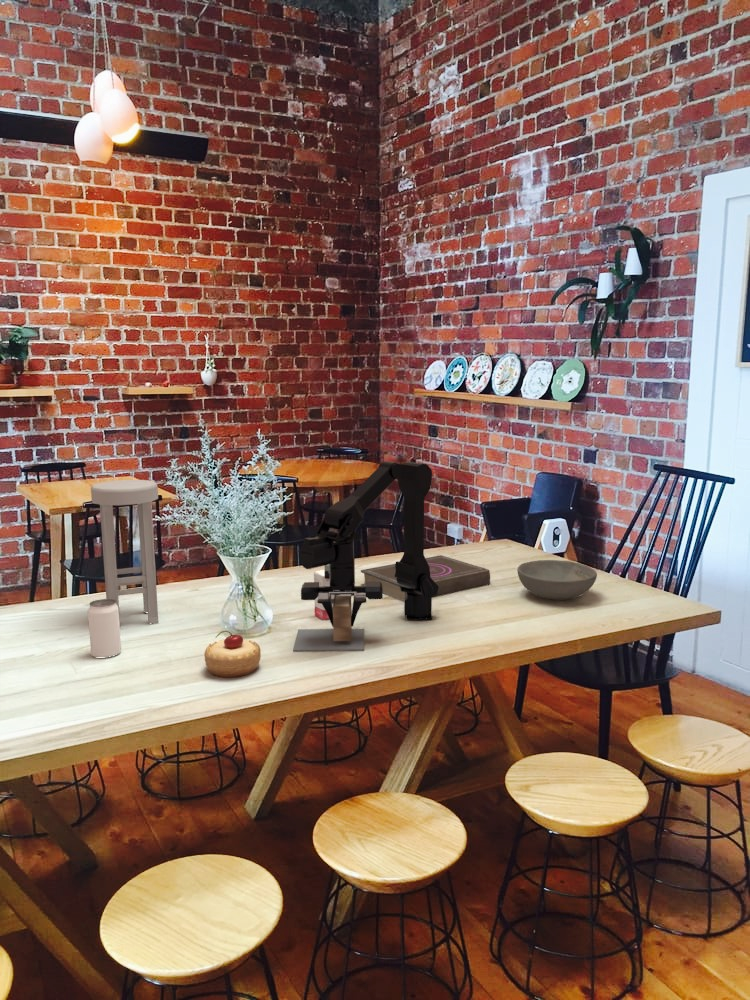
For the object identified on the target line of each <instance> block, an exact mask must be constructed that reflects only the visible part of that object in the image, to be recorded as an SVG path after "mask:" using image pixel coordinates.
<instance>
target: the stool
mask: <svg viewBox="0 0 750 1000" xmlns="http://www.w3.org/2000/svg"><path fill="white" fill-rule="evenodd" d="M158 490H159V489H158V484H157V483H156V482H155V481H154V480H148V479H147V480H146V479H122V480H117V479H116V480H110V481H103V482H98V483H95V484H91V486H90V494H91V496H90V498H91V502H92V504H95V505H99V509H100V524H101V538H102V539H101V540H102V554H103V555H102V556H103V567H104V568H103V569H104V570H103V571H104V583H105V584H104V585H105V599H114V600H116V604H117V606H118V610H119V611H120V600H119V597H120V596H127V595H136V594H137V595H138V594H142V597H143V598H142V599H143V601H142V602H143V612H144V611H145V612H148V614H147V619H148V621H149V622H148V621H147V622H148V624H149V623H158V624H159V609H158V592H157V591H158V589H157V576H156V575H157V574H156V573H157V572H156V571H157V570H156V557H155V539H154V536H155V535H154V520H153V502H154V501H156V500H158V499H159V491H158ZM127 505H128V506H129V505H130V506H131V505H137V515H138V531H139V532H138V534H139V550H140V566H136V567H135V566H134V567H125V568H117V567H118V566H117V556H116V555H117V553H116V541H115V540H116V538H115V524H114V510H113V509H114V507H113V506H127ZM134 573H135V574H136V573H141V575H134V576H123V577H118V575H125V574H134ZM132 585H142V587H136V588H135V587H134V588H124V589H119V587H121V586H122V587H123V586H124V587H125V586H132ZM119 623H120V624H121V617H120V613H119Z"/></svg>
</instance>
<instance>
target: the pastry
mask: <svg viewBox="0 0 750 1000" xmlns="http://www.w3.org/2000/svg"><path fill="white" fill-rule="evenodd" d="M223 633H229V634H230V635H229V636H226V637H225V639H220V640H219V641H214V642H213V643H210V644H209V645H208V646H207V647H206V648H205V650H204V662H205V666H206V669H208V671H209V672H210V673H211V674H212V675H213V676H216V677H221V678H237V677H238V678H239V677H242V676H247V675H249V674H251V673H253V672H255V671H256V668H257V667H258V666H259V663H260V661H261V657H262V656H261V646H260V644H258V642H256V641H252V640H247V639H244V638H243V636H242V635H240V634H237V633H236V634H232V633H231V632H230V631H229V630H222V631H220V632H219V633H217V635H216V636H215V639H216V638H218V636H220V635H221V634H223Z"/></svg>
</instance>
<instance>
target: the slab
mask: <svg viewBox="0 0 750 1000" xmlns="http://www.w3.org/2000/svg"><path fill="white" fill-rule="evenodd" d="M351 616H352V595H351V596H334V603H333V627H332V629H333V638H334V641H351V633H352V629H353V626H352V627H351Z"/></svg>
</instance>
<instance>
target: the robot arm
mask: <svg viewBox="0 0 750 1000" xmlns="http://www.w3.org/2000/svg"><path fill="white" fill-rule="evenodd" d="M432 478H433V471H432V468H431V467H430V466H429V465H428V464H427V463H422V462H420V463H419V462H414V461H413V462H412V461H405V462H402V463H399V462H395V461H387V460H386V461H382V462H380V463H379V465H378V466H377V468H376V469H375V471H374V472H372V473H371V475H369V476H368V477H367V478H366V479H365V480H364V481H363V482H362V484H360V485H359V486H358V487H357V488H356V489H355V490H354V491H353V493H351V495H348V497H346V498H343V499H341V500H339V501H336V502H335V503H334V504H333V505H331V506H329V507H328V508H327V509H326V510H325V512H324V513H323V518H322V520H321V522H320V524H319V526H318V528H317V530H316V532H315V534H314V536H315V537H305V538H304V540H303V544H302V545H301V546H300V548H299V551H298V559H299V563H300V564H301V566H302V567H303V568H304V569H306V570H312V569H316V568H319V567H320V568H321V567H324V570H325V579H330V586H319V582H314V581H308V582H306V581H305V582H304V583H303V584H302V585H301V589H300V597H301V598H300V599H301V600H303V601H315V599H316V598H317V597H318V600H317V603H321V604H322V605H323V607H324V608H325V610H326V612H327V614H328V617H329V619H328V620H329V622H330V624H331V626H332V628H333V607H332V599H331V595H338V594H351V595H353V601H352V607H351V612H352V616H351V627H352V628H353V627H354V624H355V621H356V618H357V615H358V612H359V610H360V608H361V606H362V604H365V603H367V599H368V600H383V597H384V596H383V595H384V594H383V588H382V583H381V582H380V581H369V582H366V586H362V585H356V582H355V581H356V576H355V574H356V572H355V573H354V558H355V549H354V548H355V547H354V546H355V545H354V543H355V542H357V541H360V540H362V537H361V536H360V535H359V534H358V533H357V532H356V530H357V528H358V527H359V526H360V524H361V523H362V521H363V519H364V515H365V514H364V513H366V510H367V509H369V507H370V506H371V505H372V504H373V503H374V502H375V501H376V500H377V499H378V498H379V497H380V496H381V494H383V493H384V491H386V490H387V488H388V487H389V486H390V485H392V483H393V482H394V481H395V480H397V484H398V489H399V491H400V492H401V494H402V497H403V500H404V501H403V502H404V503H403V506H404V507H403V555H402V557H401V559H400V560H399V561H395V563H394V564H395V568H396V572H395V577H396V579H397V583H399V586H400V589H401V591H402V592H406V597H405V598H404V602H403V604H404V605H403V612H404V613H403V614H404V617H405V618H406V620H408V621H424V620H425V621H431V620H433V619H434V618H433V614H432V611H433V610H432V607H433V606H432V601H433V598H435V597H434V595H437V593H438V588H439V586H438V585H437V584H436V583H435V582H434V581H433V580H432V579H431V577H430V568H429V565H428V563H427V561H426V559H425V558H426V557H425V555H424V554H425V552H424V550H425V549H424V548H425V547H424V546H425V545H424V544H425V543H424V541H425V540H424V539H425V537H424V535H425V499H426V497H427V495H428V493H429V491H430V490H431V486H432V480H433V479H432ZM354 584H355V586H354ZM333 590H340V591H333ZM345 590H351V591H345Z"/></svg>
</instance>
